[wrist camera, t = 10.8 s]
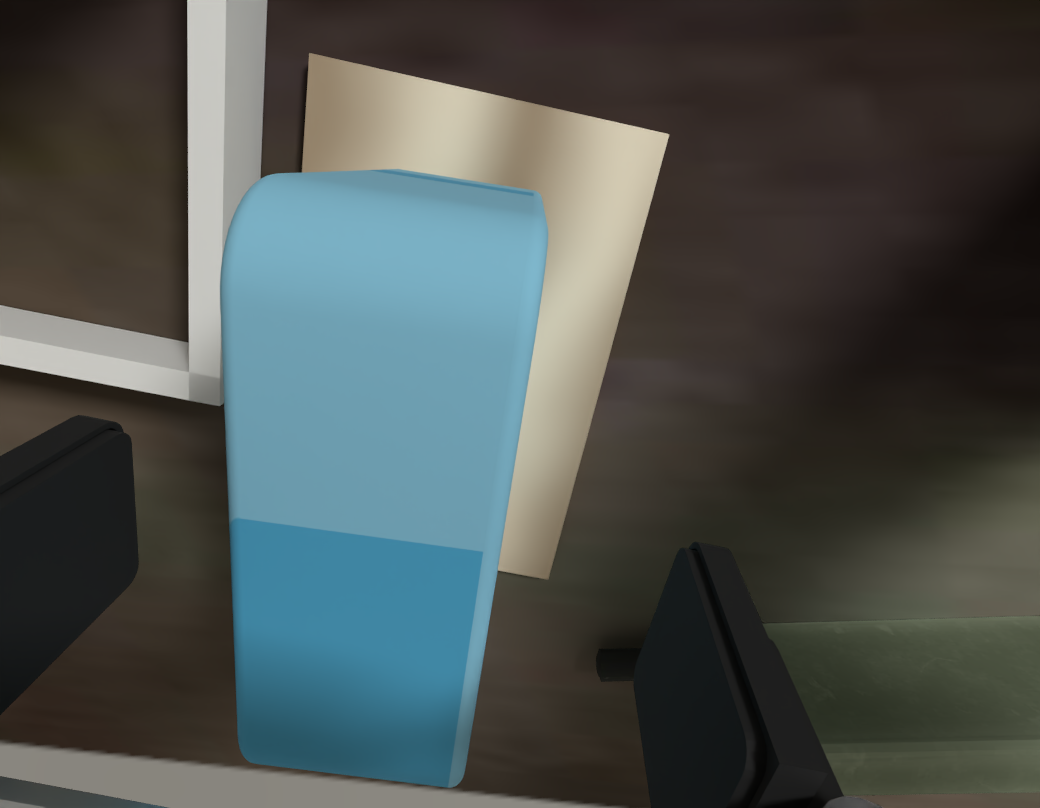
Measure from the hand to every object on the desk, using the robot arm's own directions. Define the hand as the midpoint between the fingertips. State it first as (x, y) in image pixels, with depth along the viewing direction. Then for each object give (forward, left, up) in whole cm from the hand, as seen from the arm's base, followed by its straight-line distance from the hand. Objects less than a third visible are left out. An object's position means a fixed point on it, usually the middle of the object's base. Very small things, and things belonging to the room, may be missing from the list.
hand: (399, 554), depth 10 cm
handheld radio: (-20, +9, -13) cm, 25 cm away
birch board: (+1, 0, -12) cm, 12 cm away
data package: (+1, 0, -12) cm, 12 cm away
